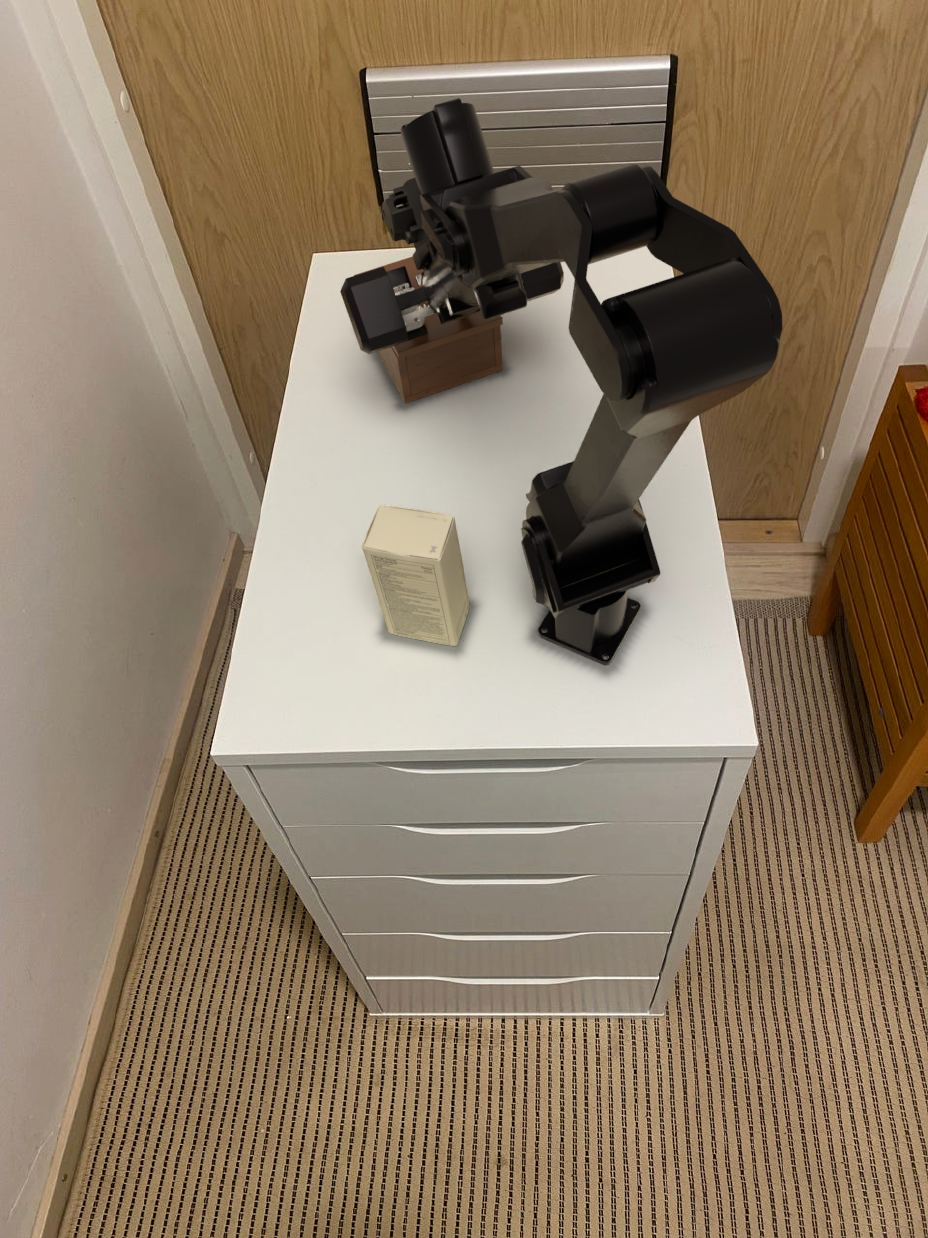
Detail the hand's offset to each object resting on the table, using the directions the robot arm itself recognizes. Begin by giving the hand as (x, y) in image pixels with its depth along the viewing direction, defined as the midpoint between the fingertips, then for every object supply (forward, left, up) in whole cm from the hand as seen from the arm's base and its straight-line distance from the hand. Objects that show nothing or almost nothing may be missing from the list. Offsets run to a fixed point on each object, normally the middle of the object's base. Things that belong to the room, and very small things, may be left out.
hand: (436, 304), depth 89 cm
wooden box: (+2, +3, -8) cm, 9 cm away
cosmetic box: (-27, -14, -8) cm, 31 cm away
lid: (+2, +2, -2) cm, 4 cm away
